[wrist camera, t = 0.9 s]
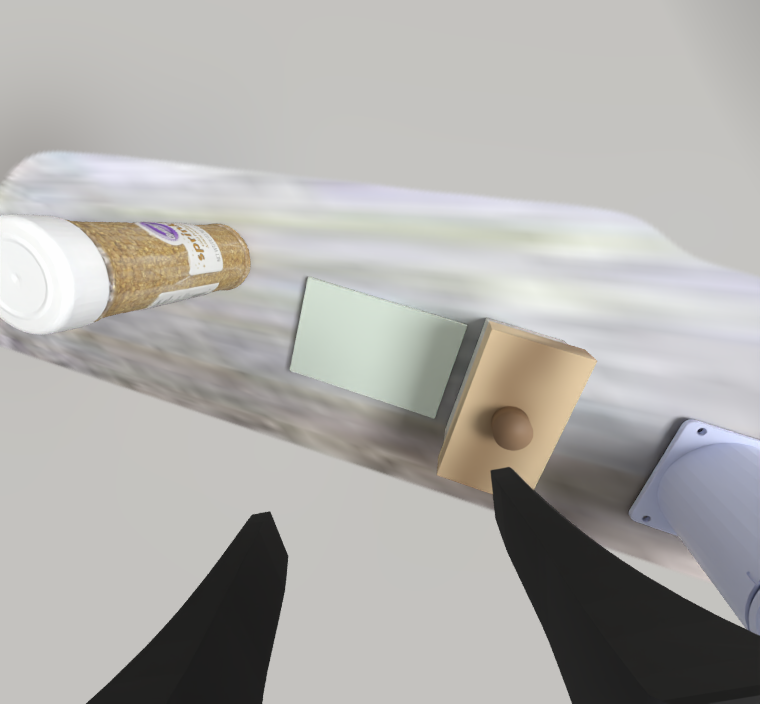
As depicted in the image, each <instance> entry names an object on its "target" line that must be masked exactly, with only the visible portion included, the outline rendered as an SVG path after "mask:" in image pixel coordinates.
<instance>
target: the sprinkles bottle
mask: <svg viewBox="0 0 760 704" xmlns="http://www.w3.org/2000/svg"><path fill="white" fill-rule="evenodd" d="M249 271H250V256H249V250H248V248H247V245H246V243H245V241H244V240H243V238H242V237H240V235H239V234H238V233H237V232H236V231H235V230H234V229H232V228H230V227H229V226H226V225H222V224H209V225H192V224H187V223H160V222H135V223H127V222H124V223H120V222H115V223H114V222H78V221H69V220H64V219H62V218H58V217H54V216H44V215H0V318H1V319H2V320H4V321H5V322H6V323H8V324H9V325H11V326H12V327H14V328H16V329H18V330H21V331H23V332H26V333H30V334H36V335H46V334H52V333H57V332H62V331H67V330H71V329H76V328H80V327H84V326H87V325H89V324H91V323H93V322H96V321H98V320H100V319H101V318H104V317H108V316H112V315H116V314H120V313H126V312H130V311H135V310H144V309H148V308H152V307H156V306H161V305H165V304H169V303H174V302H178V301H182V300H186V299H190V298H194V297H198V296H202V295H206V294H208V293H210V292H214V291H218V290H230V289H233V288H236V287H238V286H239V285H240V284H241V283H242V282H243V281H244V280H245V278H246V277H247V275H248V273H249Z"/></svg>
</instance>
